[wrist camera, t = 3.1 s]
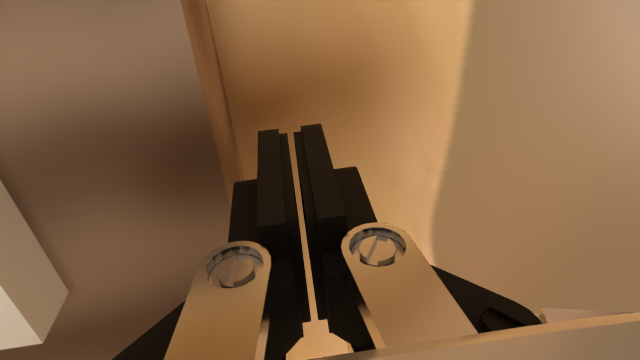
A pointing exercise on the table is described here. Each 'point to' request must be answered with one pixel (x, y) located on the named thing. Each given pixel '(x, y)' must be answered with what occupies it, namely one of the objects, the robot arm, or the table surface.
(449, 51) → the table surface
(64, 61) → the deck
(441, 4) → the table surface
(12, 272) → the cream block
